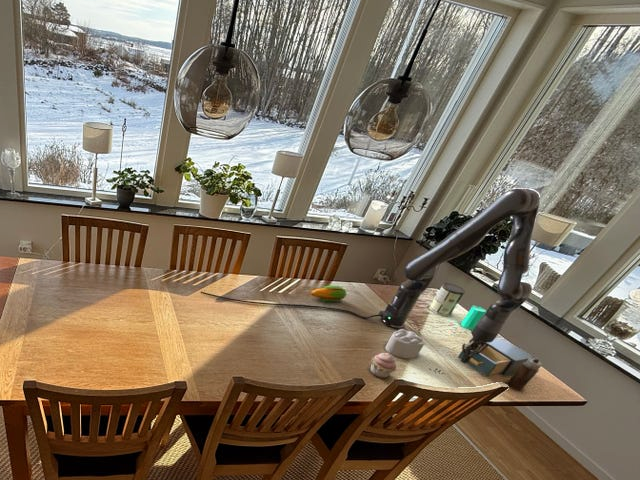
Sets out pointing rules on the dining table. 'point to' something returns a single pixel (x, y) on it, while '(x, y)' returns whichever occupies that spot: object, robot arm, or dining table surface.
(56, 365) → the dining table surface
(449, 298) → the coffee can
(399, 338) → the lumpy-topped squat cylinder
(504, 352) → the cabinet
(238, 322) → the dining table surface
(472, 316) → the candle
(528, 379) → the pepper mill
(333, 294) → the corn
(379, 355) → the cupcake
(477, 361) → the drawer
